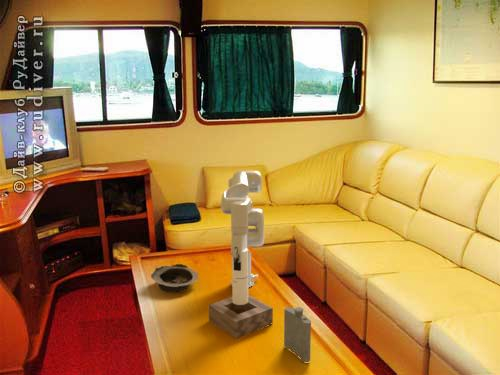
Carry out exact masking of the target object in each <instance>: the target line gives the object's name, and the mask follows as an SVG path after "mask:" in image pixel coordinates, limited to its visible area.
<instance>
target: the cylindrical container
mask: <svg viewBox="0 0 500 375" xmlns="http://www.w3.org/2000/svg"><path fill="white" fill-rule="evenodd" d="M247 248H248V247H247ZM247 248H246V249H245V250H244V251H243V253H242V256H241V258H240V262H241V270H240V271H236V270H234V262H233V256H232V255H231V272H232V275H231V278H232V280H231V281H232V286H231V287H232V290H231V291H232V297H233V303H234V304H236V305H244V304H247V303H248V295H249V288H248V249H249V248H248V249H247ZM237 255H239V253H237ZM237 258H238V259H239V257H237Z"/></svg>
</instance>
